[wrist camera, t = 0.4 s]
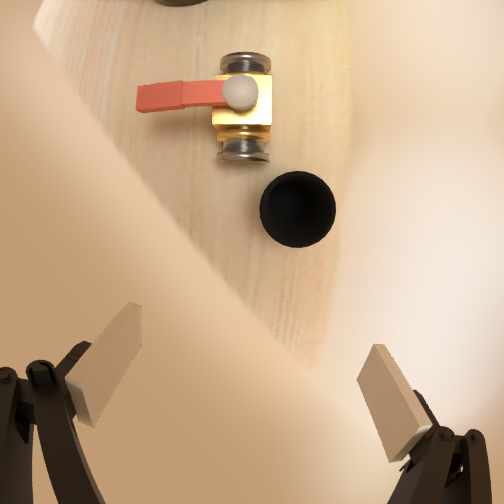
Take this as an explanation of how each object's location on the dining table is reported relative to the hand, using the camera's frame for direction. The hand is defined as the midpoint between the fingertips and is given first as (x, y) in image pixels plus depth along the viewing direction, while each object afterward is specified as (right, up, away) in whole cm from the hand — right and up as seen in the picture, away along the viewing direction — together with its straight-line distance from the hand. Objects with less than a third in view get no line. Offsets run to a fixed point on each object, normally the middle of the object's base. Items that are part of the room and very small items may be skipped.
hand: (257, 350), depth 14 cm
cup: (+5, +13, +25) cm, 28 cm away
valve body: (-1, +24, +21) cm, 32 cm away
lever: (-6, +22, +12) cm, 25 cm away
